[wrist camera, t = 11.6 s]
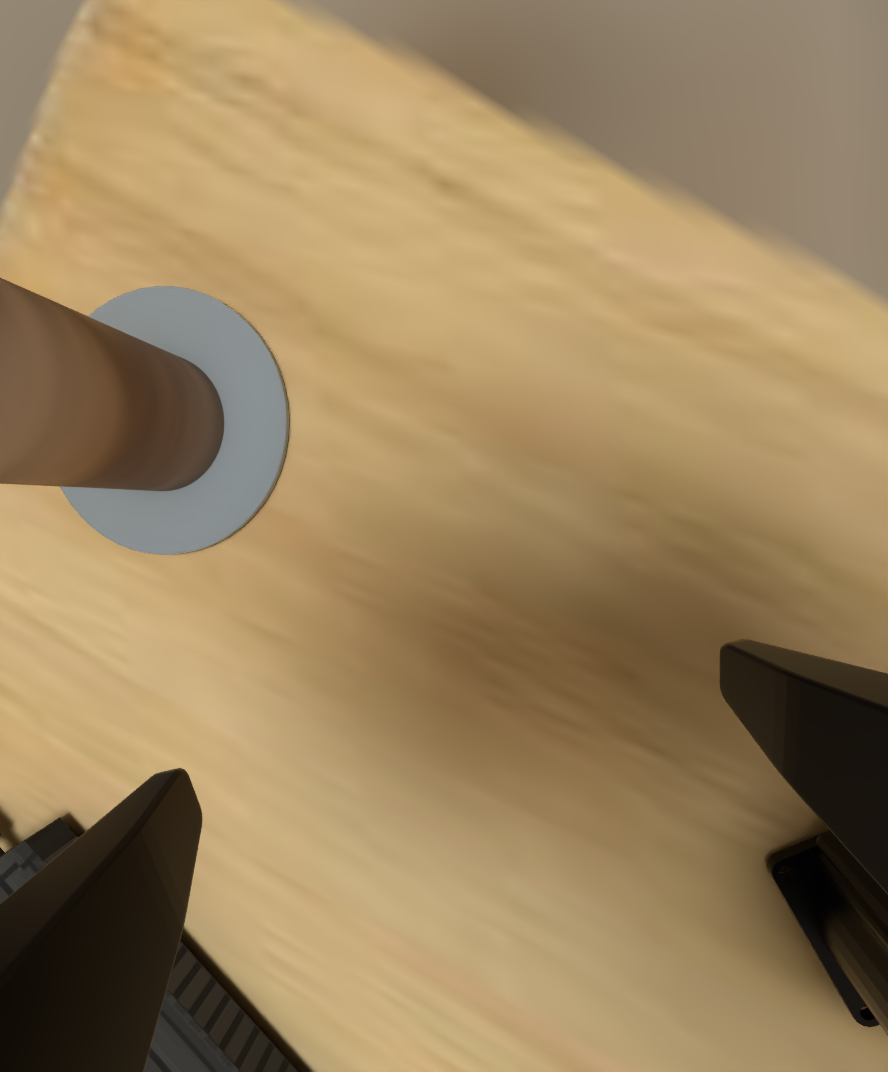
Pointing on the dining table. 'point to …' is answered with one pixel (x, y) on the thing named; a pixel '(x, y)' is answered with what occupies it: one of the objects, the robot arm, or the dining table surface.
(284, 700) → the dining table surface
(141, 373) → the pepper mill
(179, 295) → the slate mat
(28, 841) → the firearm
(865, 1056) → the dining table surface
